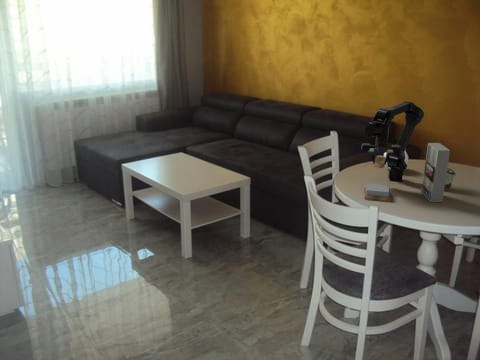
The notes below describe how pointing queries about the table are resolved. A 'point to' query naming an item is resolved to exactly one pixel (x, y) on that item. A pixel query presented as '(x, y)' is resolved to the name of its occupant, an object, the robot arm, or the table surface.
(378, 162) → the tan rounded piece
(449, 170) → the food container
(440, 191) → the grey handheld device
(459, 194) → the table surface
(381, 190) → the tower top block
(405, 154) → the geodesic sphere
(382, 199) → the tower base block
